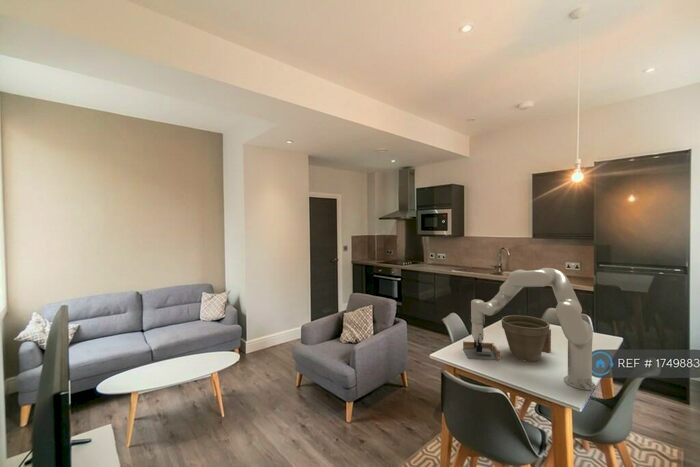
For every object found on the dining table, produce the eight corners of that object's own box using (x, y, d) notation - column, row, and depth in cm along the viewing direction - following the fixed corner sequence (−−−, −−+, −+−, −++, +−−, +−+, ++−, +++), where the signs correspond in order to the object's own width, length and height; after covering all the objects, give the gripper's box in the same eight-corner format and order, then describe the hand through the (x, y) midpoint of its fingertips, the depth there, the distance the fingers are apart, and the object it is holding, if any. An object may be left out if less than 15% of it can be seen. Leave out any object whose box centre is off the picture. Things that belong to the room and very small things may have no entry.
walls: (500, 360, 177) (500, 351, 177) (467, 358, 180) (467, 350, 180) (493, 350, 191) (493, 342, 191) (463, 349, 194) (463, 341, 194)
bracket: (477, 354, 182) (477, 341, 182) (475, 351, 187) (475, 338, 187) (491, 355, 181) (491, 341, 181) (489, 351, 186) (489, 338, 186)
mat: (500, 360, 177) (500, 359, 177) (467, 358, 180) (467, 357, 180) (493, 350, 191) (493, 349, 191) (463, 349, 194) (463, 348, 194)
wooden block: (548, 353, 187) (548, 324, 186) (530, 347, 195) (530, 319, 195) (551, 351, 189) (551, 323, 188) (532, 346, 198) (532, 318, 197)
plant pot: (510, 364, 171) (510, 326, 171) (495, 347, 196) (495, 314, 195) (558, 367, 168) (558, 328, 167) (537, 349, 192) (537, 315, 192)
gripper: (468, 316, 193) (468, 344, 194) (474, 324, 177) (474, 355, 177) (480, 316, 192) (480, 345, 192) (488, 324, 175) (488, 356, 176)
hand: (478, 349), depth 185 cm, fingers closed on bracket, 5 cm apart
